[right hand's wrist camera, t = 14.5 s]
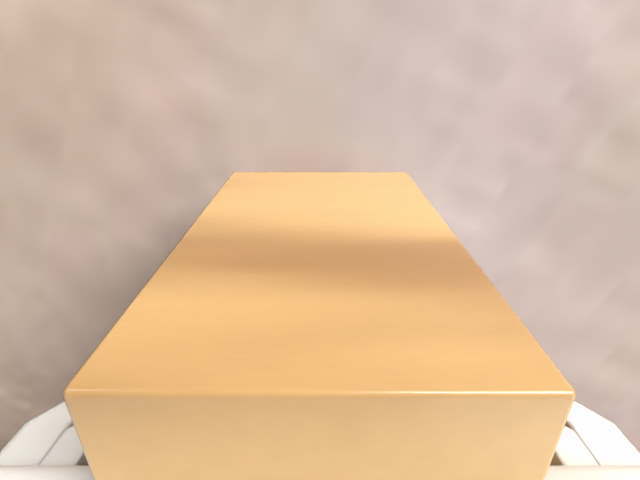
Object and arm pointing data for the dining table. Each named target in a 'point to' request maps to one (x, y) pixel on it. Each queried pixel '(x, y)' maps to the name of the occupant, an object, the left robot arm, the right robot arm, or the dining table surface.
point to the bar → (319, 348)
